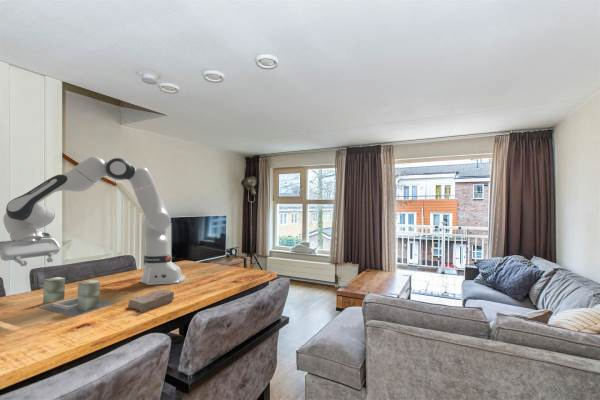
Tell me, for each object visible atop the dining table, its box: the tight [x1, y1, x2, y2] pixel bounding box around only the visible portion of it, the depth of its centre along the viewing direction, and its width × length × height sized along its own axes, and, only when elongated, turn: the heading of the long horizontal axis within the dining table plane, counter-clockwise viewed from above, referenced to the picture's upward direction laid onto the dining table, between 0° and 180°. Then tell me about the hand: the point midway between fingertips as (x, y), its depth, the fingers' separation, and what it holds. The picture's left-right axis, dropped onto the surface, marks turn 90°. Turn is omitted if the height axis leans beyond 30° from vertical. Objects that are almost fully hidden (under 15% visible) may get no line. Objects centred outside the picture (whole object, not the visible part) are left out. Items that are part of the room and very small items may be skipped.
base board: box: [37, 296, 117, 318], centre depth 114 cm, size 16×22×2 cm
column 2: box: [77, 279, 101, 311], centre depth 111 cm, size 5×5×10 cm
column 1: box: [42, 276, 66, 305], centre depth 119 cm, size 5×5×10 cm
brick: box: [127, 288, 175, 314], centre depth 119 cm, size 17×8×5 cm, turn 158°
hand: (38, 263), depth 124 cm, fingers open, 8 cm apart
